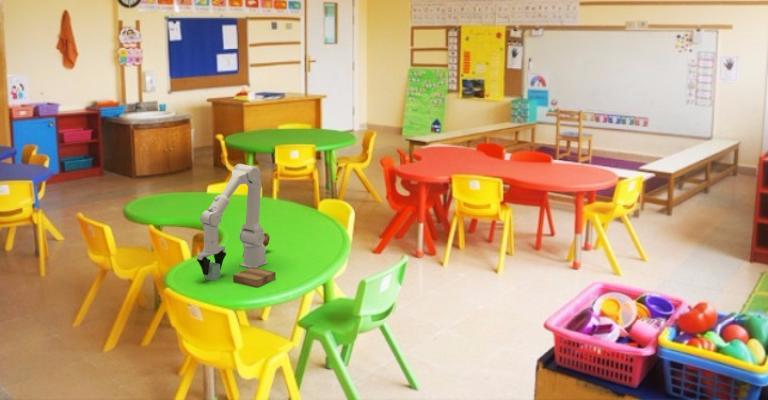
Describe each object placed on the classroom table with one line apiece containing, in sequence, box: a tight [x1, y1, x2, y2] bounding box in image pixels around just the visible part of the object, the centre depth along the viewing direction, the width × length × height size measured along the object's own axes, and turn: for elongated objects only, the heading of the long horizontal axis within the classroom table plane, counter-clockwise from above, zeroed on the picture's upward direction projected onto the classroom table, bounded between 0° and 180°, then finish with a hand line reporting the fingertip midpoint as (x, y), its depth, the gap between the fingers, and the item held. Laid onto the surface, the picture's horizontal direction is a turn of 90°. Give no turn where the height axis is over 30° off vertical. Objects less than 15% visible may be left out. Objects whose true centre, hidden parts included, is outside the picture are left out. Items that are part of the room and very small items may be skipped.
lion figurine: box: [242, 232, 271, 258], centre depth 352 cm, size 15×5×9 cm, turn 138°
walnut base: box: [232, 267, 276, 288], centre depth 320 cm, size 12×12×3 cm
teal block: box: [203, 261, 221, 282], centre depth 321 cm, size 4×4×6 cm
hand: (212, 272), depth 321 cm, fingers open, 7 cm apart
